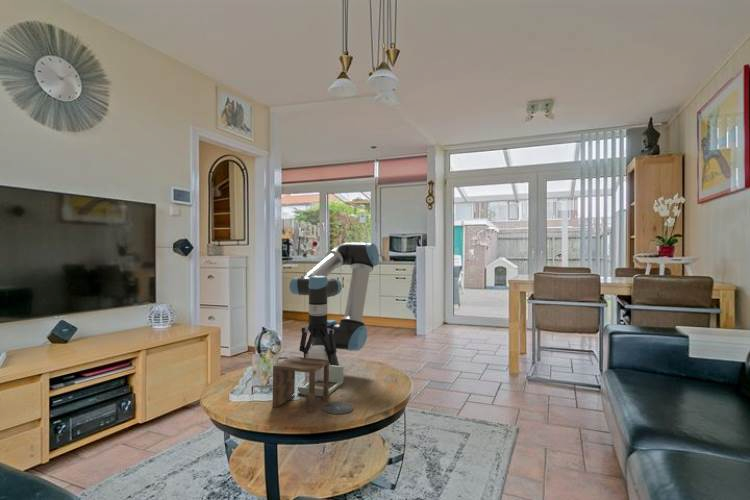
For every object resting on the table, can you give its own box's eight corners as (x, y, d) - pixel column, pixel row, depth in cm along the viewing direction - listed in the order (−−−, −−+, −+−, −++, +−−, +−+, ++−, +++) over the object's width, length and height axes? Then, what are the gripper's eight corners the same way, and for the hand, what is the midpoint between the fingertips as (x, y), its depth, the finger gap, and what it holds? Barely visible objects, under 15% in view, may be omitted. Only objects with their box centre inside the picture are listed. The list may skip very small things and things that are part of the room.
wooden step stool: (291, 394, 164) (291, 356, 164) (328, 399, 159) (329, 360, 159) (272, 407, 150) (273, 365, 150) (312, 413, 145) (313, 369, 146)
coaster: (330, 401, 157) (330, 400, 157) (357, 405, 154) (357, 403, 154) (318, 412, 146) (318, 410, 146) (347, 416, 143) (347, 414, 143)
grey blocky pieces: (318, 378, 184) (318, 363, 184) (344, 381, 180) (344, 365, 180) (297, 393, 165) (298, 375, 165) (325, 396, 161) (326, 378, 161)
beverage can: (323, 380, 164) (323, 350, 163) (304, 378, 166) (304, 349, 166) (331, 374, 171) (331, 345, 171) (313, 372, 174) (313, 344, 173)
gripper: (290, 314, 167) (290, 370, 168) (338, 317, 161) (338, 375, 161) (299, 311, 174) (298, 364, 175) (345, 314, 168) (345, 369, 169)
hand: (317, 369), depth 168 cm, fingers closed on beverage can, 8 cm apart
